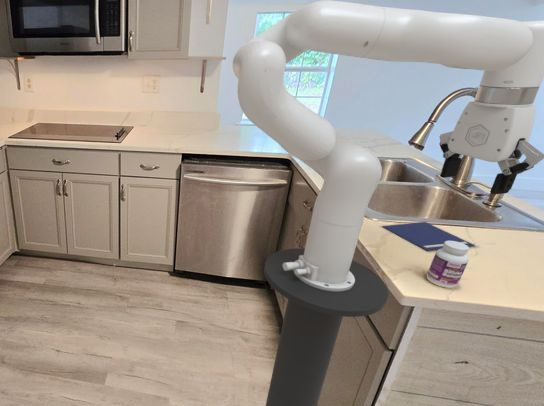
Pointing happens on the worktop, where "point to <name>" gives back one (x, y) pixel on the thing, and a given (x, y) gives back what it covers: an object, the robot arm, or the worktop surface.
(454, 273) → the pill bottle
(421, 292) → the worktop surface
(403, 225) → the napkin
